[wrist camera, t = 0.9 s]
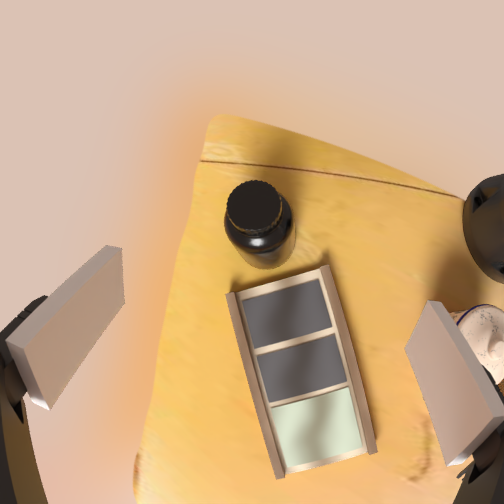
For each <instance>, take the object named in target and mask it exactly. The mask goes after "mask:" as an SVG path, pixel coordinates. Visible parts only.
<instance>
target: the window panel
mask: <svg viewBox="0 0 504 504" xmlns="http://www.w3.org/2000/svg"><path fill="white" fill-rule="evenodd" d="M225 295H226V299H227V303H228V307H229V311H230V315H231V319H232V323H233V327H234V331H235V335H236V338H237V342H238V346H239V350H240V354H241V358H242V361H243V365H244V369H245V372H246V376H247V380H248V384H249V387H250V391H251V394H252V398H253V402H254V405H255V409H256V412H257V416H258V419H259V423H260V426H261V430H262V433H263V437H264V440H265V444H266V447H267V450H268V454H269V457H270V460H271V464H272V467H273V470H274V474H275V477H276V479H281V478H285V474H290V473H294V472H299V471H303V470H308V469H312V468H316V467H320V466H323V465H327V464H331V463H334V462H338V461H341V460H345V459H348V458H351V457H354V456H358V455H361V454H364V453H367V452H368V453H369V455H371V454H374V453H377V452H378V451H377V446H376V441H375V436H374V432H373V427H372V423H371V418H370V414H369V409H368V405H367V401H366V396H365V392H364V388H363V384H362V380H361V376H360V372H359V368H358V364H357V361H356V357H355V353H354V349H353V345H352V342H351V338H350V334H349V331H348V327H347V324H346V320H345V317H344V313H343V310H342V306H341V303H340V300H339V296H338V293H337V290H336V286H335V283H334V280H333V277H332V273H331V270H330V267H329V264H328V265H324V266H321V267H320V268H319V269H316V270H313V271H309V272H306V273H303V274H299V275H296V276H292V277H289V278H285V279H282V280H279V281H275V282H272V283H268V284H265V285H261V286H257V287H254V288H250V289H247V290H243V291H240V292H236V293H235V292H230V293H227V294H225Z"/></svg>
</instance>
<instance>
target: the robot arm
mask: <svg viewBox="0 0 504 504" xmlns="http://www.w3.org/2000/svg"><path fill="white" fill-rule="evenodd" d="M463 228H464V234H465V238H466V242H467V245H468V248H469V250H470V252H471V254H472V256H473V258H474V260H475V262H476V263H477V265H478V266H479V267H480V268H481V270H482V271H483V272H484V273H485V274H486V275H487V276H489V277H490V278H491V279H493V280H495V281H497V282H499V283H502V284H504V174H501V175H497V176H493V177H489V178H487V179H485V180H483V181H482V182H480V183H479V184H478V185H477V186H476V187H475V188H474V189H473V190H472V191H471V192H470V194H469V196H468V197H467V200H466V202H465V206H464V211H463ZM124 303H125V299H124V286H123V266H122V248H118V247H113V246H108V245H106V246H105V247H104V248H102V249H101V250H100V251H99V252H98V253H97V254H95V255H94V256H93V257H92V258H91V259H90V260H88V261H87V262H86V263H85V264H84V265H83V266H82V267H81V268H79V269H78V270H77V271H76V272H75V273H74V274H73V275H72V276H70V277H69V278H68V279H67V280H66V281H65V282H64V283H63V284H62V285H61V286H60V287H58V288H57V289H56V290H55V291H54V292H53V293H52V294H51V295H50V296H49V297H48V296H45V295H44V296H42V297H40V298H38V299H36V300H34V301H32V302H31V303H30V304H29V305H28V306H27V307H26V308H25V309H24V311H22V312H21V313H20V314H19V315H18V317H15V318H14V319H13V321H11V323H9V324H8V325H7V326H6V327H5V328H4V330H2V331H1V332H0V504H48V502H47V498H46V495H45V492H44V489H43V485H42V482H41V479H40V475H39V471H38V467H37V463H36V459H35V455H34V451H33V446H32V442H31V437H30V431H29V426H28V420H27V415H26V407H25V403H24V400H23V398H22V397H23V396H24V395H25V393H26V392H28V394H29V396H30V398H31V400H32V402H33V403H36V404H37V405H39V406H41V407H43V408H46V409H48V410H51V409H52V407H53V405H54V404H55V402H56V401H57V399H58V397H59V396H60V395H61V393H62V392H63V390H64V388H65V387H66V385H67V384H68V382H69V381H70V379H71V378H72V376H73V375H74V373H75V372H76V371H77V369H78V367H79V366H80V365H81V363H82V362H83V360H84V359H85V357H86V356H87V355H88V353H89V352H90V350H91V349H92V347H93V346H94V345H95V343H96V341H97V340H98V339H99V338H100V336H101V335H102V333H103V332H104V330H105V329H106V328H107V327H108V325H109V324H110V322H111V321H112V320H113V318H114V317H115V316H116V314H117V313H118V311H119V310H120V309H121V308H122V306H123V305H124ZM404 349H405V351H406V354H407V356H408V359H409V361H410V364H411V366H412V369H413V371H414V374H415V376H416V379H417V381H418V384H419V387H420V389H421V392H422V395H423V397H424V400H425V403H426V406H427V408H428V411H429V414H430V417H431V420H432V423H433V426H434V429H435V432H436V435H437V438H438V441H439V444H440V447H441V451H442V454H443V457H444V460H445V464H446V466H451V465H457V464H462V463H463V462H464V461H465V460H466V459H467V458H468V457H469V456H470V455H471V454H472V455H473V458H474V461H473V462H471V463H470V464H469V465H468V466H467V467H466V468H465V469H464V470H463V471H461V472H460V473H459V474H458V476H457V477H456V478H458V479H459V478H460V477H461V476H462V475H463V474H465V473H466V474H465V477H464V478H463V479H462V481H463V482H462V484H461V486H460V489H459V491H458V493H457V496H456V498H455V500H454V502H453V504H504V396H503V394H502V392H500V389H499V387H498V385H497V384H496V382H495V380H494V378H493V376H492V375H491V373H490V372H489V371H488V370H487V369H486V368H485V367H484V366H483V365H481V363H480V362H479V360H478V358H477V357H476V355H475V353H474V352H473V350H472V348H471V347H470V345H469V344H468V342H467V340H466V339H465V337H464V336H463V334H462V333H461V331H460V329H459V328H458V326H457V325H456V323H455V322H454V320H453V319H452V317H451V316H450V314H449V313H448V311H447V310H446V308H445V307H444V306H443V304H442V303H441V302H438V301H431V300H427V303H426V305H425V307H424V309H423V312H422V314H421V316H420V318H419V320H418V322H417V324H416V326H415V329H414V331H413V333H412V335H411V337H410V339H409V341H408V343H407V345H406V347H405V348H404Z"/></svg>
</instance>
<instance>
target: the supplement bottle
mask: <svg viewBox="0 0 504 504" xmlns="http://www.w3.org/2000/svg"><path fill="white" fill-rule="evenodd" d="M224 227H225V231H226V234H227V236H228V238H229V240H230V241H231V243H232V244H233V245H234V247H235V248H236V249H237V251H238V252H239V254H240V255H241V256H242V258H243V259H244V260H245V261H246V262H247V263H248V264H250V265H251V266H253V267H255V268H258V269H273V268H276V267H279V266H281V265H282V264H284V263H285V262H286V261H287V260H288V259H289V258H290V256H291V254H292V252H293V250H294V246H295V221H294V213H293V209H292V207H291V205H290V203H289V201H288V200H287V199H286V198H285V197H284V196H283V195H282V194H281V193H279V192H278V191H276V189H275V188H274V187H272V185H270V184H268V183H267V182H263V181H258V180H254V181H253V180H251V181H246V182H245V183H241V184H240V185H239V186H237V187H236V188H235V189H234V190H233V191H232V193H231V194H230V196H229V198H228V202H227V208H226V212H225V216H224Z"/></svg>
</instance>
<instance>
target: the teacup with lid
mask: <svg viewBox="0 0 504 504" xmlns="http://www.w3.org/2000/svg"><path fill="white" fill-rule="evenodd" d="M449 314H450V316H451V317H452V319H453V320H454V322H455V323H456V325H457V326H458V328H459V329H460V331H461V333H462V334H463V336H464V337H465V339H466V340H467V342H468V344H469V345H470V347H471V348H472V350H473V352H474V353H475V355H476V357H477V358H478V360H479V362H480V363H481V365H483V366H484V367H485V368H486V369H487V370H488V371H489V372H490V373H491V375H492V376H493V378H494V380H495V382H496V384H497V385H498V384H499V383H500V382H501V381H502V380H503V378H504V312H503V311H502V310H501V309H499V308H497V307H495V306H493V305H489V304H482V305H478V306H475V307H473V308H471V309H468V310H463V311H457V312H451V313H449ZM423 399H424V397H423ZM424 401H425V400H424Z"/></svg>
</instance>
